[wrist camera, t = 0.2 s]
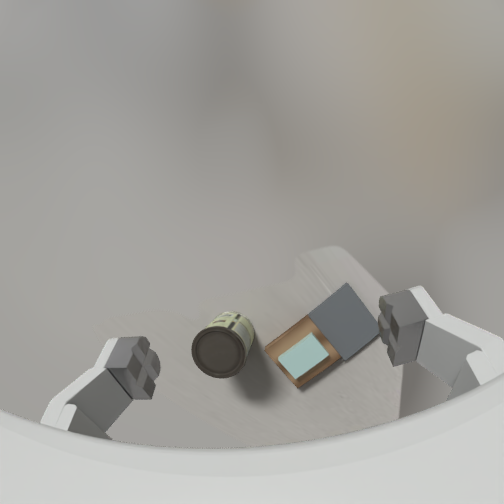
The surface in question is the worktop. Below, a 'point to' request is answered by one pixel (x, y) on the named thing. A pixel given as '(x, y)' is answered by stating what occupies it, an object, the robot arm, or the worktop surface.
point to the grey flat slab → (345, 321)
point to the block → (303, 355)
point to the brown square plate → (294, 337)
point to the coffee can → (223, 345)
